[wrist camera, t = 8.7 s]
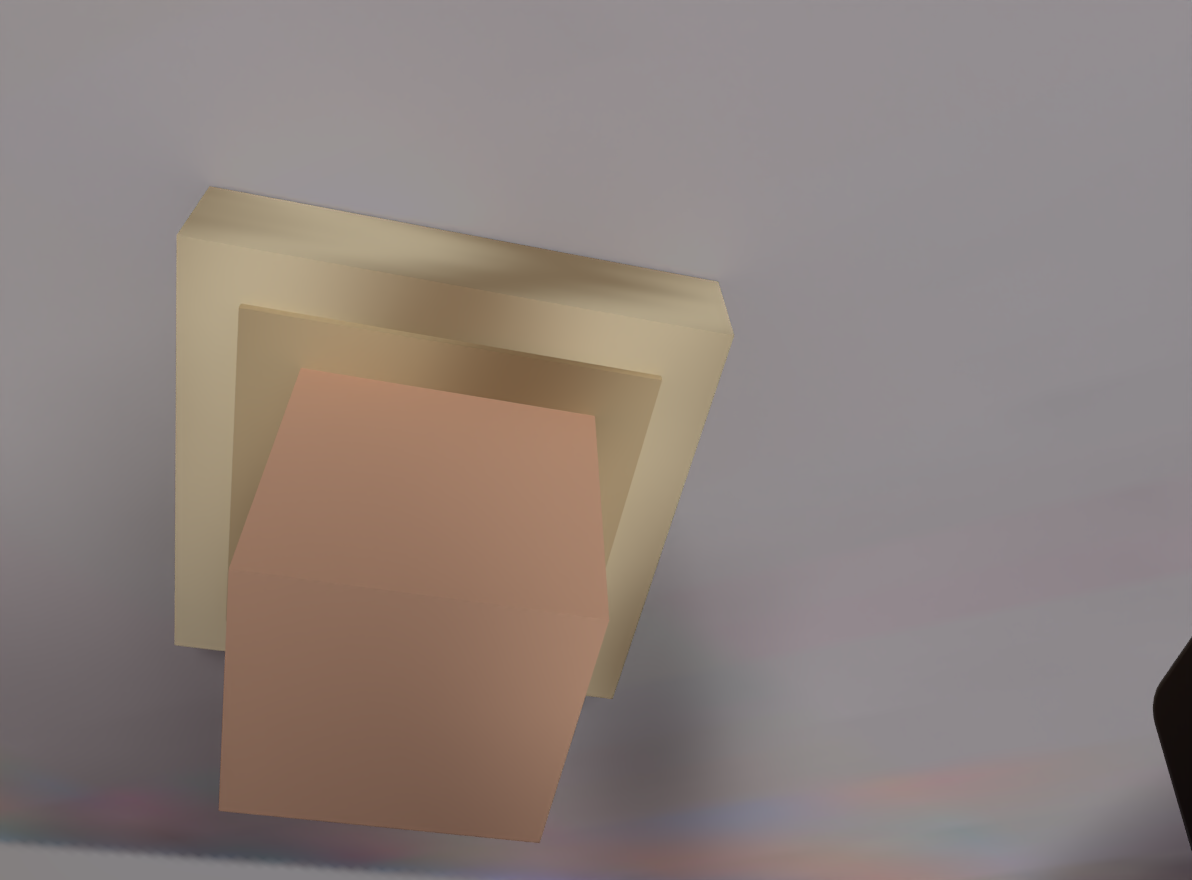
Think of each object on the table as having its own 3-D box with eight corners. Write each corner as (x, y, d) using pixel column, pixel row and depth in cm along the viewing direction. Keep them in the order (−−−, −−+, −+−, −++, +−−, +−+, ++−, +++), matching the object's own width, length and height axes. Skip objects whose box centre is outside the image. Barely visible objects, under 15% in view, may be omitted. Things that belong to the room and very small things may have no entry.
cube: (595, 415, 19) (609, 620, 15) (540, 622, 21) (539, 843, 17) (301, 367, 18) (228, 569, 14) (283, 588, 21) (218, 810, 17)
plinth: (718, 282, 20) (735, 340, 18) (607, 631, 25) (612, 704, 23) (209, 186, 18) (173, 238, 17) (200, 577, 23) (172, 650, 21)
